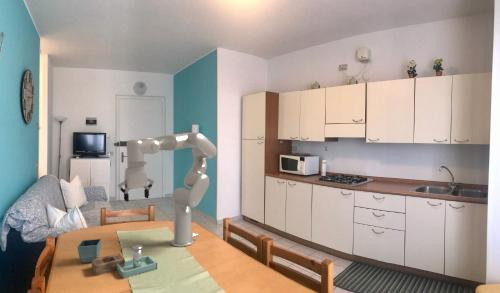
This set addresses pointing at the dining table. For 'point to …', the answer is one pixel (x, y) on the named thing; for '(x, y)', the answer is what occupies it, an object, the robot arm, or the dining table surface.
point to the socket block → (107, 264)
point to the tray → (146, 266)
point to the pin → (137, 256)
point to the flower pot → (89, 250)
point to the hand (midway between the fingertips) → (136, 199)
